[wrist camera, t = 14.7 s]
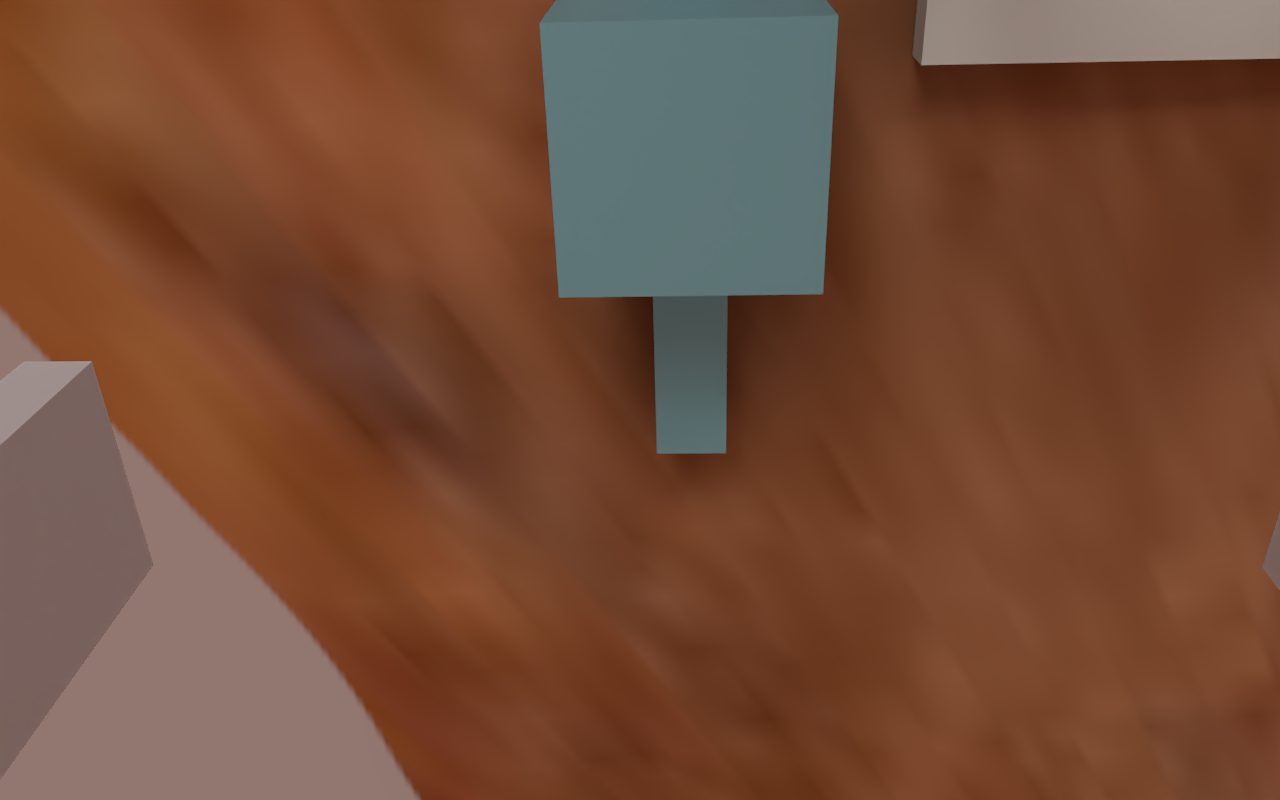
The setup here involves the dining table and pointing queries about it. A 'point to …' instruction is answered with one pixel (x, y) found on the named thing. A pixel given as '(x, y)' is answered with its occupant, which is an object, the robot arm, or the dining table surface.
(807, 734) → the dining table surface
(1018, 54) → the white and grey stand
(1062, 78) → the dining table surface
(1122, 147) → the dining table surface
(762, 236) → the teal cube with tabs
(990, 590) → the dining table surface
